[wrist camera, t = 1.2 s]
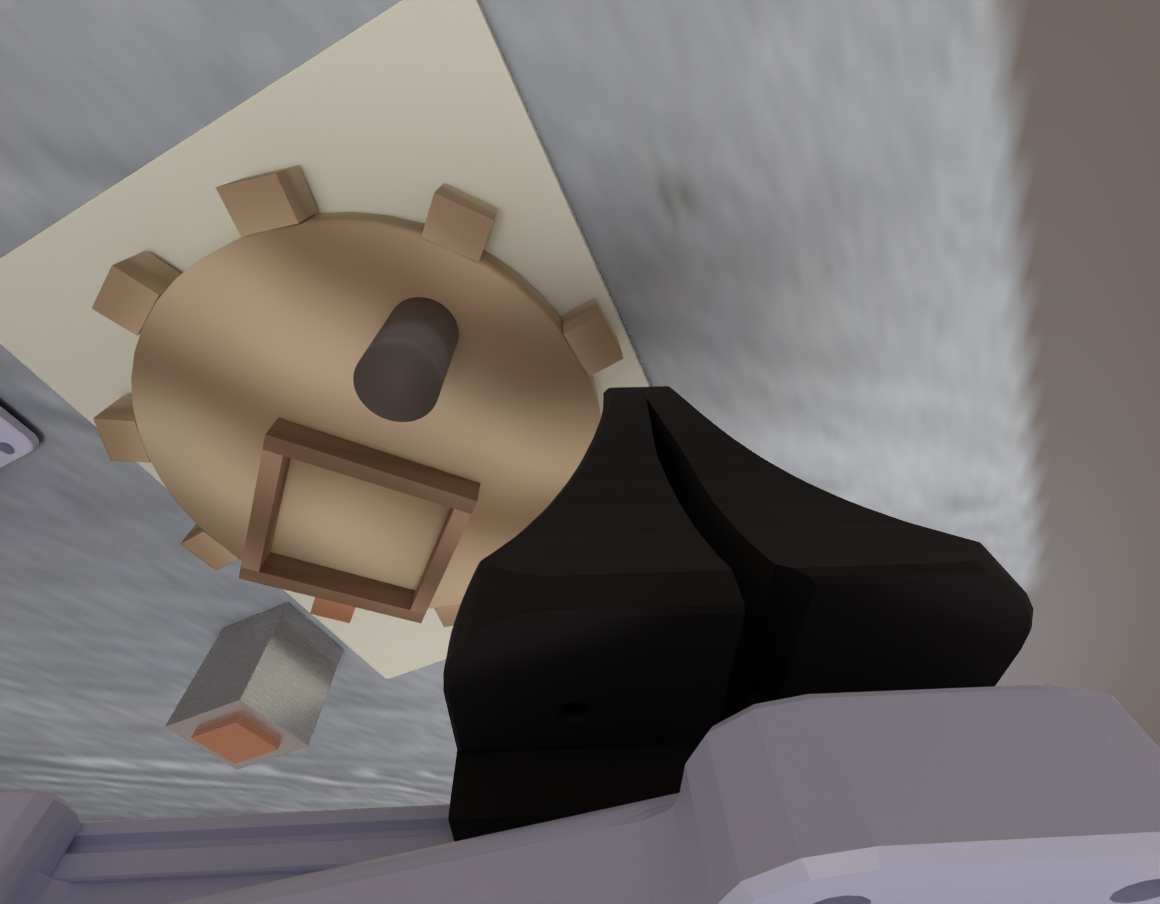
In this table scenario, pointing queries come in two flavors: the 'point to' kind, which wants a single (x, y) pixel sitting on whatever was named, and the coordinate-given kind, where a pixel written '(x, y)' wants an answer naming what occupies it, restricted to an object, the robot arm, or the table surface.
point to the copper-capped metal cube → (259, 688)
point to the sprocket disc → (353, 396)
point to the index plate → (337, 184)
